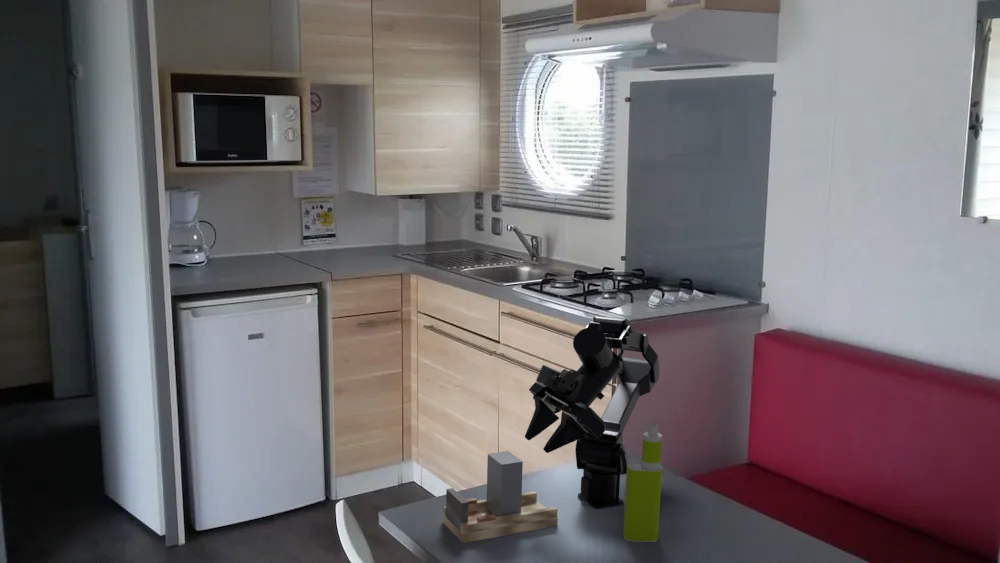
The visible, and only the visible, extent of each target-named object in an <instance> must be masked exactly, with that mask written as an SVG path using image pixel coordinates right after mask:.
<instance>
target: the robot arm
mask: <svg viewBox="0 0 1000 563" xmlns="http://www.w3.org/2000/svg"><path fill="white" fill-rule="evenodd" d="M572 340H573V341H572V346H573V349H574V351H575V353H576V354H577V355H576V356H578V358H579V360H580V362H581V365H580V367H579V368H578V369H577V370H574V369H570V370H569V369H566V368H564V369H563V370H561V371H559V370H558V369H557V370H556V369H554V368H551V367H549V366H547V365H545V364H542V365H541V368H540V370H539V374H538V375H537V377H536V380H535V382H534V383H533V384H532V385H531V387H530V388H529V389H528V390H529V392H530V393H531V395H533V396H532V399H533V400H534V406H535V409H534V412H533V415H532V417H531V420H530V421H529V425H528V428H527V430H526V432H525V435H524V438H525V439H526V440H527V441H530V440H532V439H534V438H535V437H537V436H538V435H539V434H542V432H544V431H545V430H547V428H549V427H550V426H551V425H554V423H556V422H557V421H559V420H560V424H558V426H557V427H556V429H555V430H554V432H553V433H552V434H551V436H550V438H549V439H548V440H547V441H546V443H545V445H544V446H543V448H542V449H543V451H544V452H545V453H546V454H548V453H551V452H553V451H555V450H557V449H560V448H562V447H564V446H566V445H569V444H571V443H574V442H576V443H575V460H576V468H577V470H583V474H582V475H583V476H581V478H580V492H579V493H578V494H577V498H579V499H581V500H582V501H584V502H585V503H586V504H587V505H589V506H590V507H592V508H593V509H601V508H605V507H606V508H607V507H613V506H619V505H622V504H625V499H624V500H623V499H622V498H621V497H620V489H621V488H620V484H621V477H622V475H627V464H628V463H629V456H628V453H627V451H626V447H625V445H624V442H623V441H624V440H623V432H624V430H625V428H626V426H627V424H628V422H629V419H631V418H630V417H631V415H632V413H633V411H634V408H635V406H636V405H637V402H638V400H639V399H640V397H642V396H644V395H647V394H650V392H652V390H653V388H654V387H655V384H658V381H659V378H660V363H659V355H658V354H657V353H656V351H655V350H654V349H653V347H652V346H651V344H650V342H649V335H648V334H647V333H645V332H641V331H638V330H636V329H633V324H632V323H631V322H630V321H629V319H628V318H623V317H615V316H614V317H613V316H606V315H605V316H603V315H595V316H593V317H592V320H590V321H589V322H588V324H587V325H586V326H585V328H583V329H580V330H579V331H578V332H577V333H576V334H575V336H574V337H573V339H572ZM613 349H614V350H618V353H617V354H616V353H615V352H614V351H613ZM625 351H629V352H636V353H641V356H642V357H643V358H644V359H642V358H636V357H635V358H634V357H629V356H628V357H626V356H624V357H623V354H624V353H625ZM614 377H616V378H617V386H616V388H615V390H614V392H613V395H612V396H611V397H610V400H609V402H608V404H607V406H606V408H605V409H604V412H603V414H602V416H601V417H600V415H598V413H597V412H595V410H593V408H592V407H590V406H591V405H592V404H593V402H595V400H596V399H597V400H599V401H601V400H602V399H604V397H605V395H604V393H602V392H603V390H604V389H605V388H606V387H607V386H608V385H609V383H610V382H611V381H612V380H613V379H614ZM560 412H561V414H560V415H561V417H559V416H558V415H557V414H558V413H560ZM560 418H561V419H560Z"/></svg>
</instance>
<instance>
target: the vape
mask: <svg viewBox="0 0 1000 563" xmlns="http://www.w3.org/2000/svg"><path fill="white" fill-rule="evenodd" d="M647 426H648V427H647V431H645V432H643V433H642V452H641V461H635V462H634V461H631V462H628V464H627V474H625V476H626V479H625V480H626V481H625V483H626V484H625V497H624V498H625V499H624V516H623V538H624V539H625V540H626V541H628V542H637V543H638V542H639V543H655V542H657V541H658V540H659V528H660V527H659V525H660V524H659V523H660V509H661V492H662V483H663V475H662V474H663V466H662V465H661V464H662V460H661V459H662V458H661V457H662V444H663V442H662V441H663V434H662V433H660V432H659V430H658V429H659V424H658V423H656V422H655V423H654V422H650V423H648V424H647Z"/></svg>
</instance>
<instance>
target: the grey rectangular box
mask: <svg viewBox="0 0 1000 563" xmlns="http://www.w3.org/2000/svg"><path fill="white" fill-rule="evenodd" d="M523 463H524V461H523V460H522V459H520V458H518V457H517V456H516V455H515V454H514V453H512V452H510V451H508V450H506V451H499V452H493V453H487V464H486V465H487V466H486V467H487V469H486V470H487V473H486V474H487V475H486V499H487V502H486V508H487V509H488V510H489V511H490V512H491V513H492V514H494V515H495V516H496V517H499V516H505V515H511V514H516V513H521V500H522V493H523V491H522V490H523V470H524V469H523V465H524V464H523Z"/></svg>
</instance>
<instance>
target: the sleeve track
mask: <svg viewBox="0 0 1000 563" xmlns="http://www.w3.org/2000/svg"><path fill="white" fill-rule="evenodd" d="M537 500H538V493H537V492H536V491H533V490H532V491H525V492H522V500H521V513H516V514H511V515H505V516H499V517H496V516H495V515H494V514H492V513H491V512H490V511H489V510H488V509H487V508H486V502H487V498H485V499H479V500H478V499H477V498H476V497H472V498H465V497H464V496H462V495H461V493H459V492H458V491H457V490H456V489H455V488H453V487H451V488H446V498H445V502H446V503H445V504H446V505H444V506H443V509H442V523H443V524H444V525H445V526H446V528H448V529H449V530H450V532H452V534H454V535H455V536H456V537H457V539H458V540H460V542H461V543H462V544H466V543H472V542H477V541H483V540H488V539H493V538H498V537H502V536H503V537H504V536H508V535H509V536H510V535H515V534H519V533H526V532H530V531H536V530H541V529H546V527H547V528H552V527H557V526H556V525H558V523H559V522H558V521H559V518H558V511H559V510H558V508H557V507H556V506H551V507H545V506H544V505H542V504H541V503H540V502H539V501H537ZM551 526H552V527H551Z"/></svg>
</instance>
